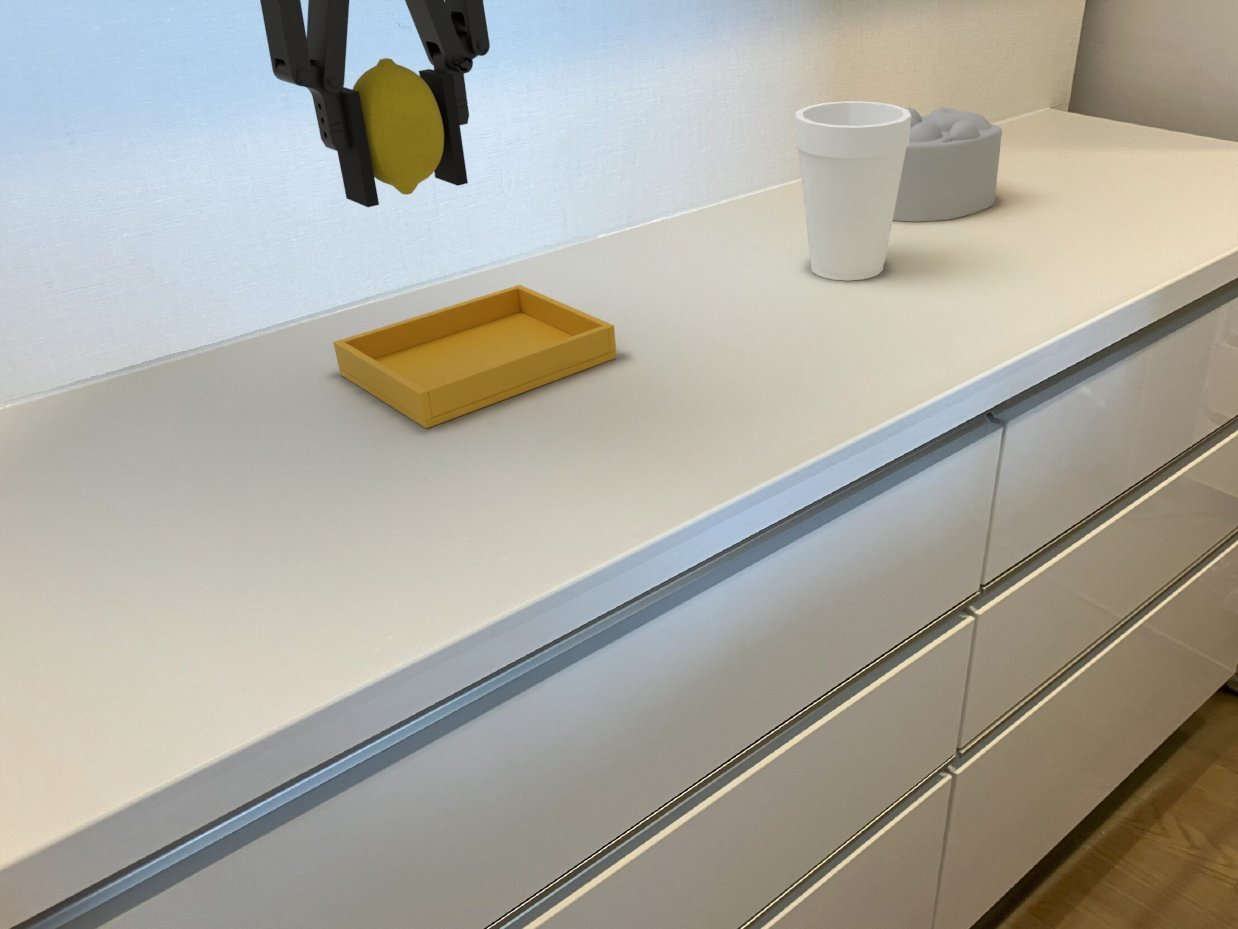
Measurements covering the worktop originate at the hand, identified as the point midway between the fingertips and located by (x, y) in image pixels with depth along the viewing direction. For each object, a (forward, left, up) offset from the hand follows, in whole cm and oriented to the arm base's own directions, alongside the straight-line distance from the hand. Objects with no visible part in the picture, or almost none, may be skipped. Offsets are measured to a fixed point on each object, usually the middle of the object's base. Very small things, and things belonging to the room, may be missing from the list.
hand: (407, 189), depth 71 cm
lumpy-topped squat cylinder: (+36, +47, -15) cm, 61 cm away
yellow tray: (+1, +6, -15) cm, 16 cm away
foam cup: (+28, +28, -15) cm, 42 cm away
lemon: (0, 0, -1) cm, 1 cm away
